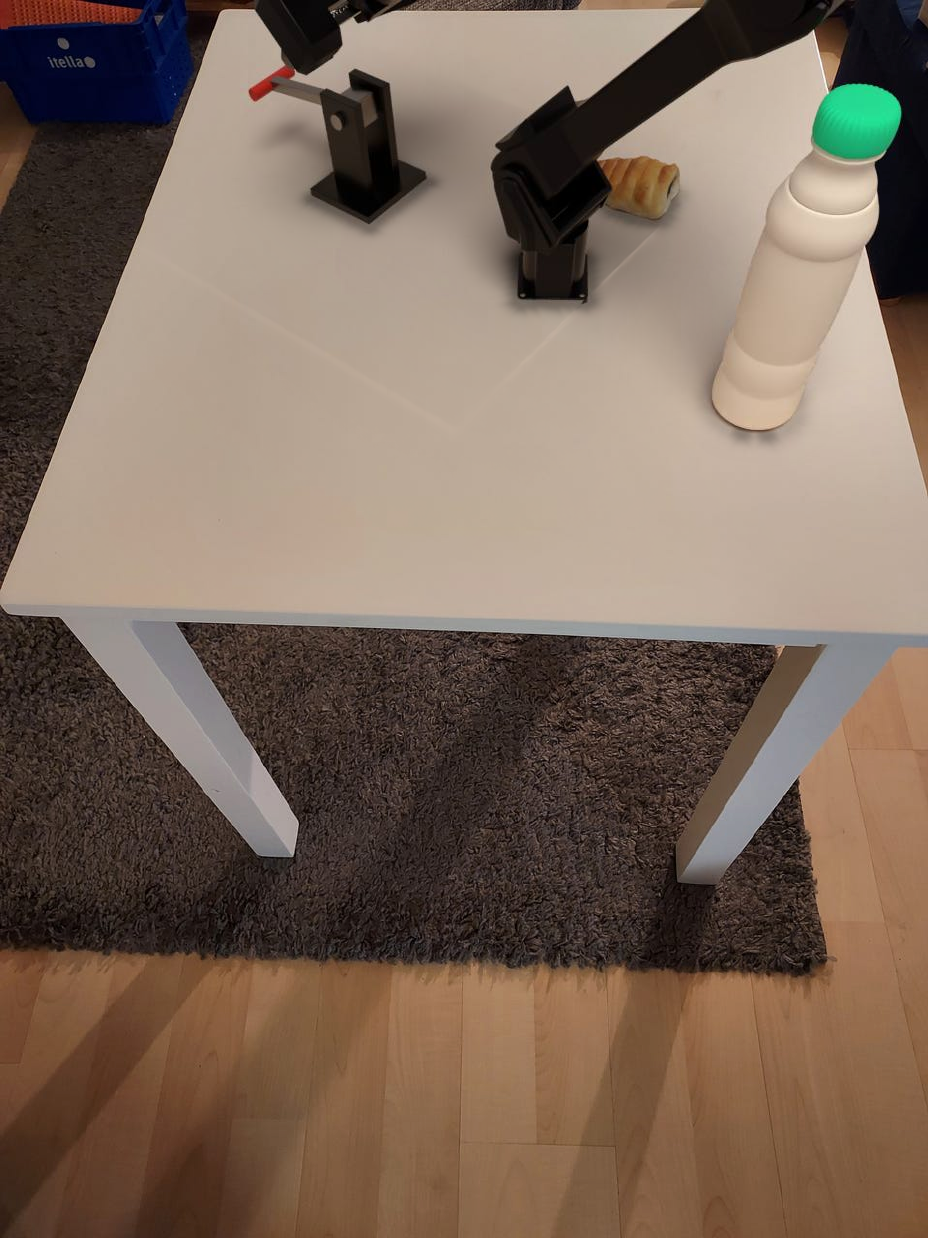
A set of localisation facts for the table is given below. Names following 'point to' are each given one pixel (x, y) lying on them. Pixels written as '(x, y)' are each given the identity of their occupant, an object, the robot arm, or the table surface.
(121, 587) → the table surface
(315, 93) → the lever
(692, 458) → the table surface
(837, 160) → the water bottle
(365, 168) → the switch bracket
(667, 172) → the pastry
